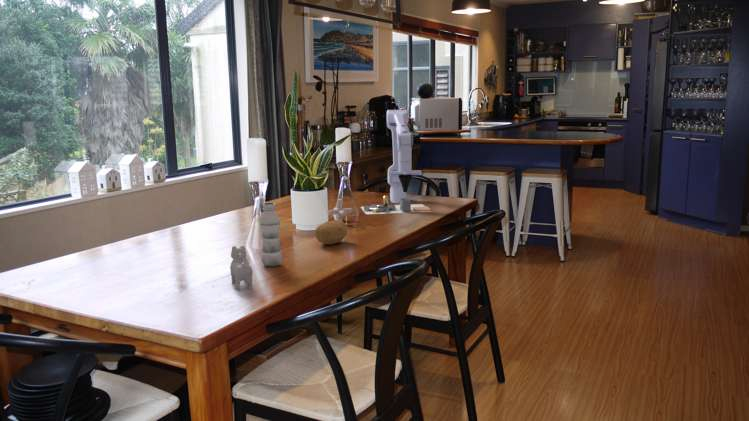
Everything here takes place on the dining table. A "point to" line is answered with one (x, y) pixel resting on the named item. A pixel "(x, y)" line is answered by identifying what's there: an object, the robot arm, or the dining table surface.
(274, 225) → the grey tiered tower
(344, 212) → the pipe connector
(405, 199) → the grey rectangular block
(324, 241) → the potato
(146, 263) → the dining table surface
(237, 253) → the dog figurine
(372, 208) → the sprocket
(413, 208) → the board
